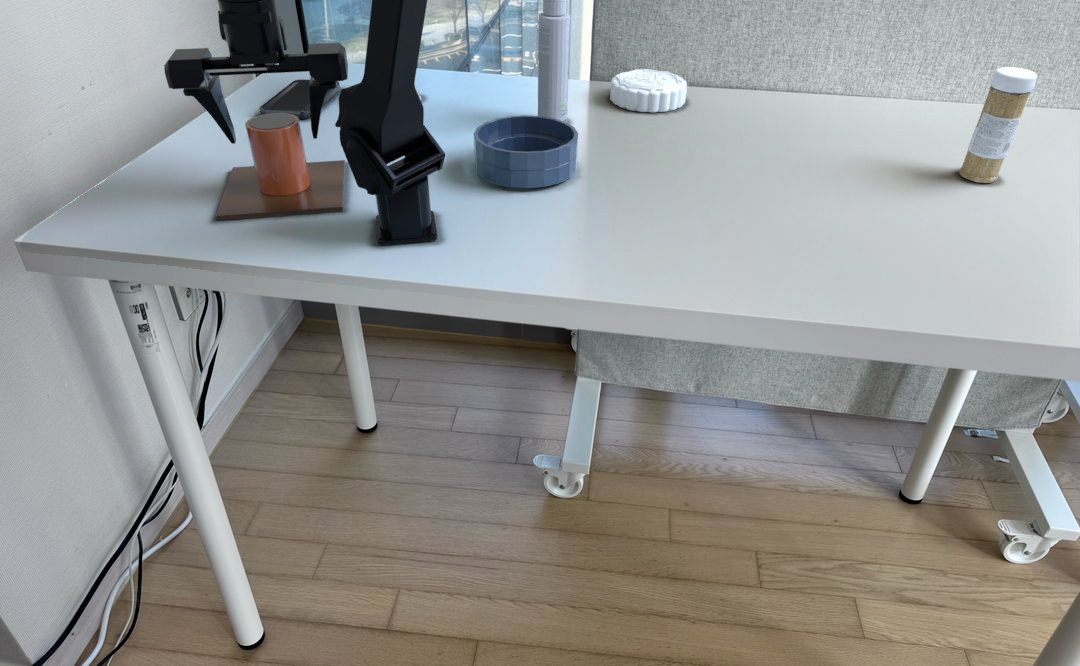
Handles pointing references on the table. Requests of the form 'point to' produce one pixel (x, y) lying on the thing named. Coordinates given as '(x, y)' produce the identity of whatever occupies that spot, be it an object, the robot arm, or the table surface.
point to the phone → (294, 100)
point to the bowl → (525, 151)
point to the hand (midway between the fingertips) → (275, 139)
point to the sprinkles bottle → (997, 123)
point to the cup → (278, 153)
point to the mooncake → (648, 90)
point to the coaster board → (252, 203)
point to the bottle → (553, 60)
